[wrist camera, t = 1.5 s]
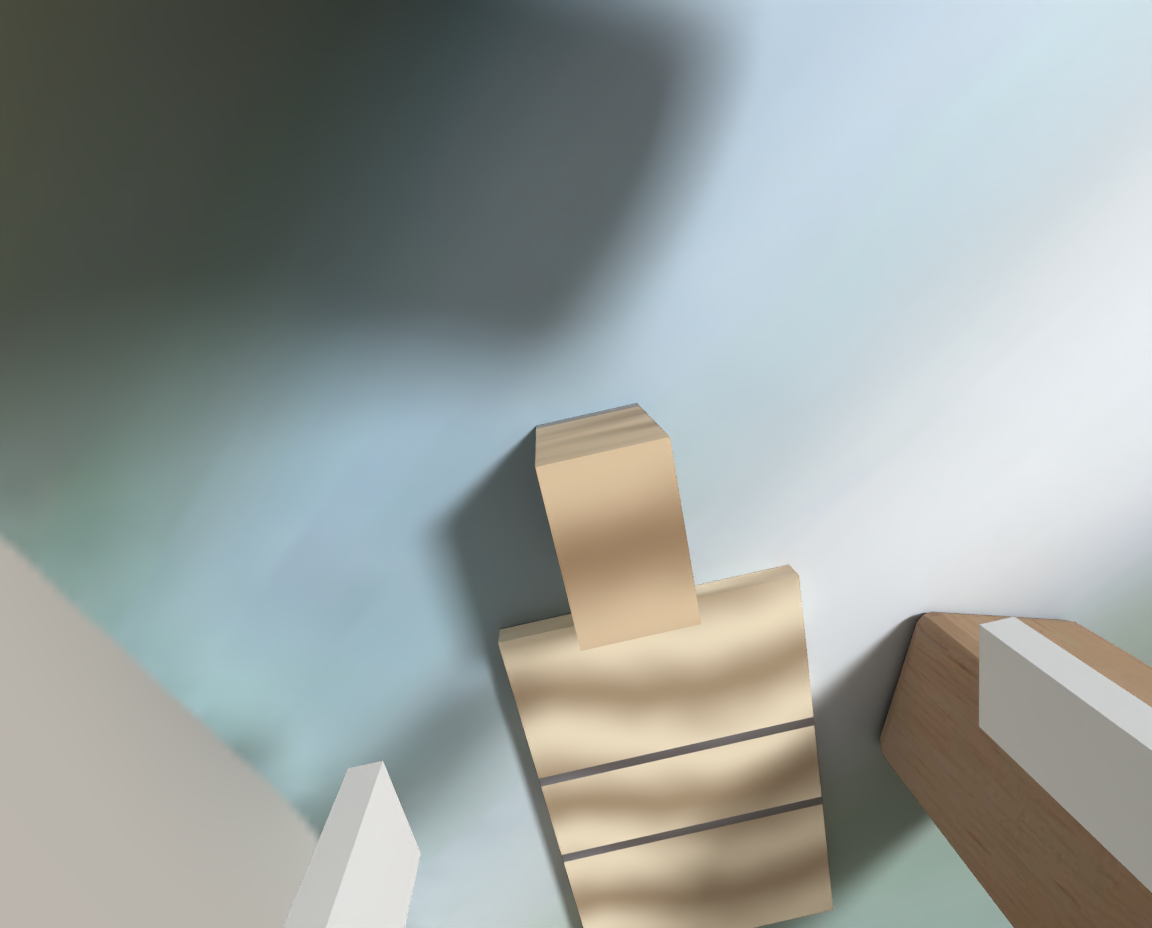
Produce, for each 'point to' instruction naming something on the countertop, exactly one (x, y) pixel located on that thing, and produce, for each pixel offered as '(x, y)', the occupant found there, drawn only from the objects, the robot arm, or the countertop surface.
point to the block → (1006, 781)
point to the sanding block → (617, 525)
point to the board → (682, 761)
